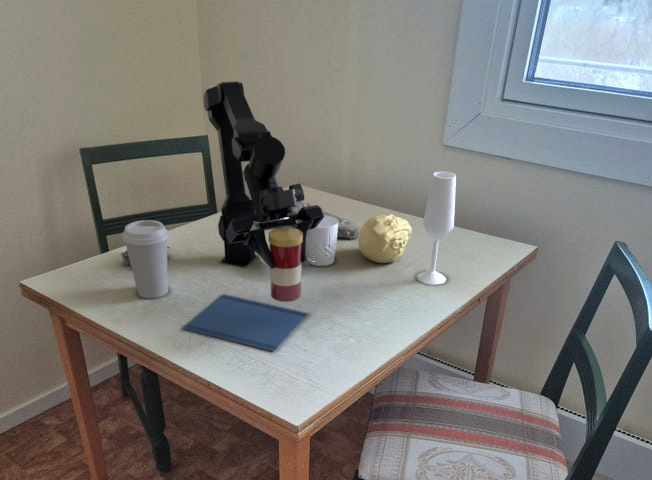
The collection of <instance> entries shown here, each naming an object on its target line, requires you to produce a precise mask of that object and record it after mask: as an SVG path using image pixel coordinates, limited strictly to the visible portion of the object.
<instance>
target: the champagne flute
mask: <svg viewBox="0 0 652 480" xmlns="http://www.w3.org/2000/svg"><path fill="white" fill-rule="evenodd" d="M456 184H457V175H456V174H455V173H454V172H451V171H435V172H433V173H432V178H431V183H430V188H429V191H428V198H427V202H426V208H425V212H424V216H423V220H422V226H423V229H424V231H425V232H426V233H427V234H428V235H429V237H431V239H433V243H432V249H431V257H430V258H431V259H430V265H429V270H426V271H423V272H420V273H418V274H417V276H416V279H417V280H418V281H419V282H420V283H423V284H426V285H432V286H433V285H435V286H436V285H441V284H444V283H446V281H447V278H446V276H445V275H443V274H442V273H440V272H438V271H436V265H437V258H438V250H439V243H440V239H441V240H442V239H443V238H444V237H446V236H447V235H449V234H450V233H451V231H452V230H453V229H454V226H455V209H456V207H455V206H456V186H457V185H456Z"/></svg>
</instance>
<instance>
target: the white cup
mask: <svg viewBox="0 0 652 480" xmlns="http://www.w3.org/2000/svg"><path fill="white" fill-rule="evenodd" d="M337 232H338V220H337V219H335V218H333V217H330V216H325V217H324V218H323V219H322V221H321V222H320V223H319V224H318V226H317V227H316V228H314V229H311V230H308V231H307V235H306V255H307V257H308V258H309V259H311V260H312V261H315V262H312V261H310V260H308V259H307V257H306V262H307V263H308V264H310V265H311V266H317V267H325V266H330V265H332V264H334V263H335V258H336V250H337V243H338V241H337V240H338V236H337Z"/></svg>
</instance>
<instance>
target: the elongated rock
mask: <svg viewBox="0 0 652 480" xmlns="http://www.w3.org/2000/svg"><path fill="white" fill-rule="evenodd" d="M308 206H313V205H312V204H310V203H309V202H305V201H300V202H297V207H292V211H291V212H290V213H288V216H291V215H297V214H298V212H299V211H300V209H301V208H302V207H308ZM323 213H324V216H330V217H333V218H335V219H337V220H338V232H337V237H339V238H344V239H358V236H359V232H360V230H361V226H359V225H358V224H356V223H355V222H354V221H352V220H349V219H346V218H344V217H340V216H338V215H335V214H332V213H329V212H326V211H323Z"/></svg>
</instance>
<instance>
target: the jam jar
mask: <svg viewBox="0 0 652 480" xmlns="http://www.w3.org/2000/svg"><path fill="white" fill-rule="evenodd" d="M302 241H303V233H302V232H301V231H300V230H298V229H295V228H292V227H290V226H288V227H282V228H276V229H270V231H269V232H268V243H269V249H270V252H271V255H272V257H273V260H274V264H275V268H274V269H271V268H270V267H269V278H270V279H269V280H270V297H271V298H272V299H273V300H275V301H278V302H281V303H282V302H283V303H289V302H290V303H291V302H295V301H297V300H299V299H300V298H301V296H302V274H303V270H302V267H303V263H302V262H301V256H302Z"/></svg>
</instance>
